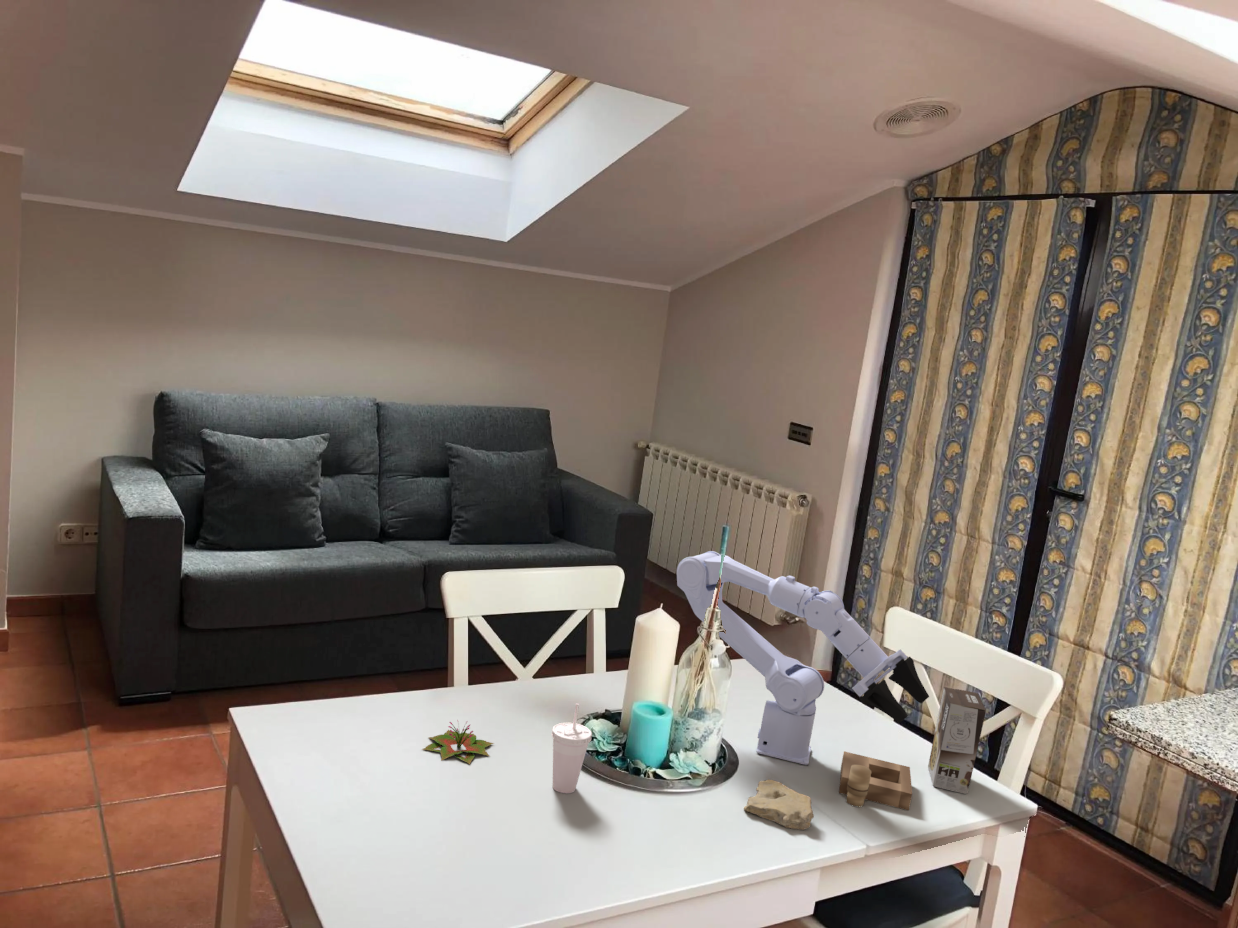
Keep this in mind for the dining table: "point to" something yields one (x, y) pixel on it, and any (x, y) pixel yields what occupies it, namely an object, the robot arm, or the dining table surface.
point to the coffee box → (956, 739)
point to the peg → (858, 785)
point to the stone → (781, 805)
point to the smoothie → (569, 753)
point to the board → (880, 780)
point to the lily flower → (458, 744)
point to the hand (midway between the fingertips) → (914, 709)
